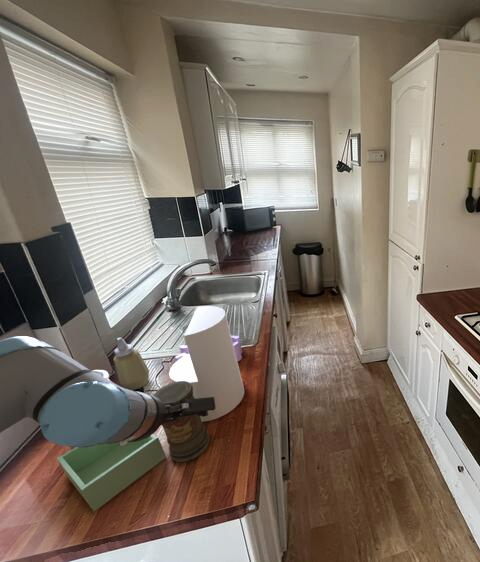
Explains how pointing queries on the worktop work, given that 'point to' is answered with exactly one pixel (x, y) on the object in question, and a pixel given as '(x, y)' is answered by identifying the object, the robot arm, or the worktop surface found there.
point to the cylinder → (210, 361)
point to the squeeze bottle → (130, 366)
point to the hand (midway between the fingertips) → (171, 420)
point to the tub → (109, 467)
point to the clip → (235, 343)
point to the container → (183, 425)
